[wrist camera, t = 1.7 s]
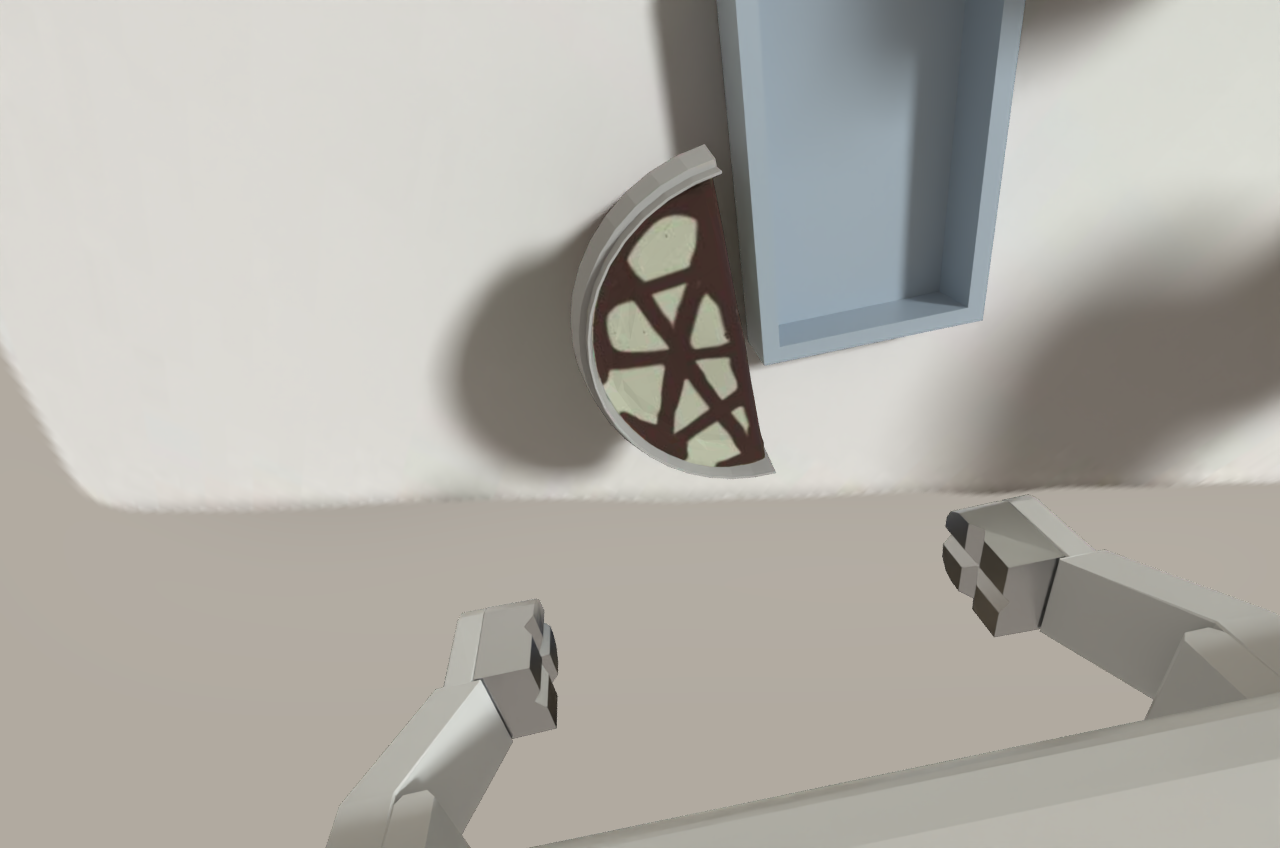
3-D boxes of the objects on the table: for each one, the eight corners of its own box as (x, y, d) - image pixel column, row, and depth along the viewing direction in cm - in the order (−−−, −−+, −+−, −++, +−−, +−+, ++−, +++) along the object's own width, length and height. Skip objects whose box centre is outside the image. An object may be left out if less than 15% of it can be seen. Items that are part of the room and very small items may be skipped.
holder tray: (988, -121, 22) (1045, -149, 19) (947, 299, 30) (982, 320, 28) (710, -61, 22) (729, -80, 19) (748, 340, 30) (764, 365, 28)
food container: (534, 168, 25) (512, 213, 17) (669, 126, 25) (718, 150, 16) (613, 404, 32) (627, 524, 23) (722, 373, 31) (777, 483, 23)
